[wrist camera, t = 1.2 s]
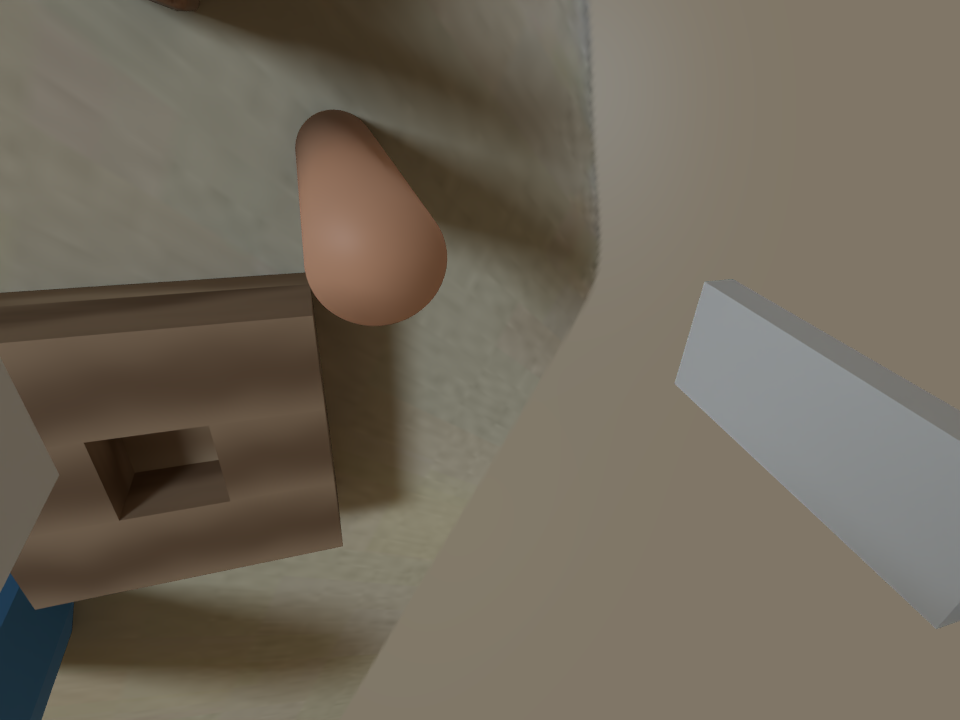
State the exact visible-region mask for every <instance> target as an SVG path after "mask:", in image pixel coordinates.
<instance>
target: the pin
mask: <svg viewBox="0 0 960 720" xmlns="http://www.w3.org/2000/svg"><path fill="white" fill-rule="evenodd" d="M295 150H296V163H297V176H298V189H299V202H300V215H301V228H302V241H303V254H304V267H305V273H306V277H307V280H308V283H309V286H310V288H311V289H312V291H313V293H314V295H315V296H316V297H317V299H318V300H319V301H320V302H321V304H322V305H323V306H324V307H325V308H327V309H328V310H329V311H330V312H332V313H333V314H335V315H336V316H338V317H340V318H342V319H344V320H346V321H349V322H352V323H355V324H360V325H366V326H383V325H389V324H394V323H397V322H400V321H403V320H405V319H407V318H409V317H411V316H413V315H415V314H416V313H418V312H419V311H420V310H422V309H423V308H424V307H425V306H426V305H427V304H428V303H429V302H430V301H431V300H432V299H433V297H434V296H435V294H436V293H437V292H438V290H439V288H440V286H441V284H442V281H443V279H444V276H445V272H446V266H447V250H446V244H445V240H444V237H443V234H442V232H441V230H440V228H439V226H438V225H437V223H436V222H435V220H434V219H433V217H432V216H431V215H430V213H429V212H428V210H427V209H426V208H425V206H424V205H423V204H422V202H421V201H420V199H419V198H418V197H417V195H416V194H415V192H414V191H413V190H412V188H411V187H410V185H409V184H408V183H407V181H406V180H405V179H404V177H403V176H402V174H401V173H400V172H399V170H398V169H397V167H396V166H395V165H394V163H393V162H392V160H391V159H390V158H389V156H388V155H387V154H386V152H385V151H384V149H383V148H382V147H381V145H380V144H379V142H378V141H377V140H376V138H375V137H374V135H373V134H372V133H371V131H370V130H369V129H368V127H367V126H366V125H365V124H364V123H363V122H362V121H361V120H360V119H359V118H357V117H356V116H354V115H352V114H350V113H348V112H345V111H341V110H325V111H321V112H319V113H316V114H314V115H313V116H311V117H310V118H309V119H308V120H307V121H306V122H305V123H304V124H303V125H302V127H301V128H300V130H299V132H298V135H297V139H296V146H295Z"/></svg>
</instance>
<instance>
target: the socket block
mask: <svg viewBox="0 0 960 720" xmlns="http://www.w3.org/2000/svg"><path fill="white" fill-rule="evenodd" d="M0 358H1V360H2V362H3V364H4V366H5V368H6V370H7V372H8V374H9V376H10V378H11V380H12V382H13V384H14V386H15V388H16V390H17V392H18V394H19V396H20V398H21V400H22V402H23V404H24V405H25V407H26V409H27V411H28V413H29V415H30V417H31V419H32V421H33V423H34V425H35V427H36V429H37V431H38V433H39V435H40V437H41V439H42V441H43V443H44V445H45V447H46V449H47V451H48V453H49V455H50V457H51V459H52V461H53V463H54V465H55V467H56V469H57V471H58V473H59V477H58V479H57V480H56V482H55V484H54V486H53V488H52V490H51V492H50V494H49V496H48V498H47V500H46V502H45V504H44V506H43V508H42V510H41V512H40V514H39V516H38V518H37V520H36V522H35V524H34V526H33V528H32V530H31V532H30V534H29V536H28V538H27V540H26V542H25V544H24V546H23V548H22V550H21V552H20V554H19V556H18V558H17V560H16V562H15V564H14V566H13V568H12V570H11V572H10V573H11V575H12V576H13V578H14V579H15V581H16V582H17V584H18V585H19V587H20V588H21V590H22V591H23V593H24V594H25V596H26V597H27V599H28V600H29V602H30V603H31V604H32V606H33V607H34V609H35V610H36V609H41V608H46V607H51V606H56V605H60V604H65V603H70V602H75V601H80V600H85V599H90V598H94V597H99V596H104V595H109V594H114V593H119V592H123V591H128V590H133V589H138V588H143V587H148V586H152V585H157V584H162V583H167V582H172V581H177V580H182V579H186V578H191V577H196V576H201V575H206V574H211V573H215V572H220V571H225V570H230V569H235V568H240V567H244V566H249V565H254V564H259V563H264V562H269V561H273V560H278V559H283V558H288V557H293V556H298V555H303V554H307V553H312V552H317V551H322V550H327V549H332V548H336V547H341V546H343V543H342V533H341V524H340V515H339V505H338V496H337V487H336V479H335V472H334V464H333V456H332V448H331V441H330V433H329V425H328V417H327V409H326V402H325V394H324V386H323V378H322V371H321V363H320V355H319V347H318V340H317V332H316V324H315V316H314V309H313V301H312V293H311V288H310V286H309V283H308V280H307V277H306V273H293V274H278V275H263V276H248V277H233V278H218V279H203V280H188V281H173V282H158V283H143V284H128V285H113V286H98V287H83V288H68V289H53V290H37V291H22V292H7V293H0Z"/></svg>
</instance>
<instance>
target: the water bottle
mask: <svg viewBox="0 0 960 720" xmlns="http://www.w3.org/2000/svg"><path fill="white" fill-rule="evenodd" d="M73 608H74V602H70V603H65V604H60V605H56V606H51V607H46V608H41V609H36V610H35V609H34V607H33V606H32V604H31V603H30V602H29V600H28V599H27V597H26V596H25V594H24V593H23V591H22V590H21V588H20V587H19V585H18V584H17V582H16V581H15V579H14V578H13V576H12V575H11V573H10V574H9V576H8V578H7V580H6V582H5V584H4V586H3V588H2V590H1V592H0V720H41V719H42V716H43V713H44V711H45V708H46V705H47V702H48V699H49V696H50V693H51V690H52V687H53V684H54V682H55V679H56V676H57V673H58V670H59V667H60V664H61V661H62V658H63V655H64V653H65V650H66V647H67V644H68V641H69V638H70V635H71V632H72V622H73Z"/></svg>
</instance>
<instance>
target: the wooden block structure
mask: <svg viewBox="0 0 960 720" xmlns="http://www.w3.org/2000/svg"><path fill="white" fill-rule="evenodd" d="M150 1H152V2H155V3H158V4H160V5H163V6H166V7H168V8H171V9H174V10H176V11H196V9H197V8H198V6H199V0H150Z"/></svg>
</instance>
